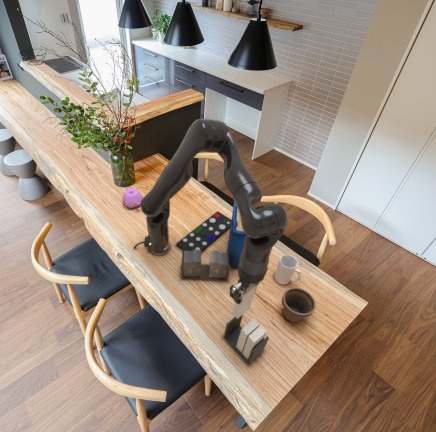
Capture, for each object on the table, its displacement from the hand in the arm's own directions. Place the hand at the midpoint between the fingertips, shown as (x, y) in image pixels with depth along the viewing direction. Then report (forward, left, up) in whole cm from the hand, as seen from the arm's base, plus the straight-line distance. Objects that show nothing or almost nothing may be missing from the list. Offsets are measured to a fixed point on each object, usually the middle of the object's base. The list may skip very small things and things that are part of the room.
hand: (244, 295), depth 95 cm
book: (+3, +39, -26) cm, 47 cm away
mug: (+23, +24, -26) cm, 42 cm away
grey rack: (-11, +26, -26) cm, 38 cm away
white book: (0, 0, -10) cm, 10 cm away
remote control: (-11, +48, -26) cm, 56 cm away
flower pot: (+23, +9, -26) cm, 35 cm away
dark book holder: (+3, -4, -26) cm, 26 cm away
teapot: (-49, +68, -26) cm, 88 cm away
